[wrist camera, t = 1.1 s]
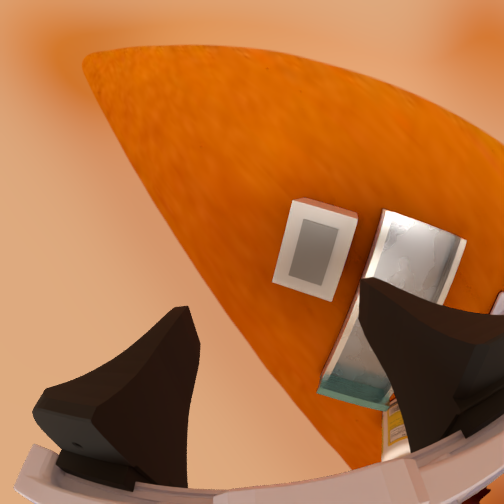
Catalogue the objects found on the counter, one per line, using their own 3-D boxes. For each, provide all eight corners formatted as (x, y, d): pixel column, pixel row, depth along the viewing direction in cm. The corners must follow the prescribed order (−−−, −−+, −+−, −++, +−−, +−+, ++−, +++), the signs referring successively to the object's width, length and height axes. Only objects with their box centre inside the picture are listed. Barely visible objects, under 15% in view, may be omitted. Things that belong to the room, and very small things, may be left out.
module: (356, 212, 21) (358, 219, 17) (336, 279, 23) (331, 303, 18) (305, 197, 23) (291, 200, 18) (287, 263, 24) (270, 283, 20)
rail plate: (382, 208, 20) (387, 211, 17) (459, 236, 18) (473, 244, 15) (321, 372, 26) (315, 392, 23) (385, 391, 24) (386, 411, 21)
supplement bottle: (410, 428, 23) (412, 493, 14) (373, 419, 25) (367, 488, 16) (436, 397, 22) (448, 465, 13) (397, 388, 23) (401, 461, 14)
